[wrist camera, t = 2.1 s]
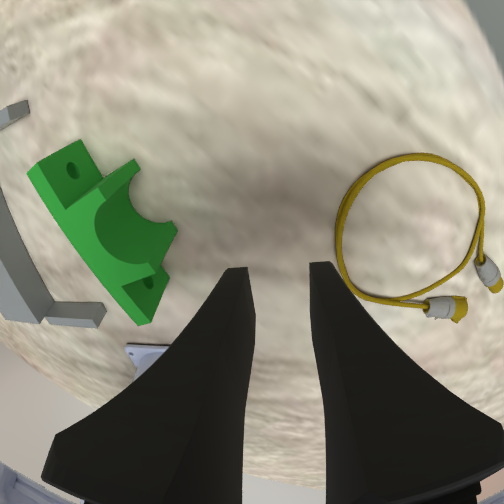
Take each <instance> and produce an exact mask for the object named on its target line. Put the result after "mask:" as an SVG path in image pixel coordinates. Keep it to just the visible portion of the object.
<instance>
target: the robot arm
mask: <svg viewBox="0 0 504 504" xmlns="http://www.w3.org/2000/svg"><path fill="white" fill-rule="evenodd" d="M309 270H310V319H311V331H312V341H313V347H314V352H315V358H316V363H317V369H318V375H319V380H320V386H321V392H322V398H323V406H324V416H325V438H326V504H504V489H503V490H501V491H500V492H498V493H496V494H494V495H492V496H490V497H488V498H486V499H484V500H482V501H480V502H478V503H477V498H476V495H479V494H480V493H481V486H480V481H482V480H483V479H485V478H487V477H489V476H490V475H492V474H494V473H496V472H497V471H499V470H501V469H502V468H504V430H503V427H502V425H501V423H499V422H497V421H496V420H494V419H492V418H491V417H489V416H487V415H485V414H484V413H482V412H480V411H479V410H477V409H475V408H474V407H472V406H470V405H469V404H467V403H466V402H465V401H463V400H462V399H460V398H459V397H457V396H456V395H455V394H453V393H452V392H450V391H449V390H448V389H447V388H445V387H444V386H443V385H442V384H440V383H439V382H438V381H437V380H435V379H434V378H433V377H432V376H431V375H429V374H428V373H427V372H426V371H424V370H423V369H422V368H421V367H420V366H419V365H417V364H416V363H415V362H414V361H413V360H412V359H411V358H410V357H409V356H408V355H407V354H406V353H405V352H404V351H403V350H402V349H401V348H400V347H398V346H397V345H396V344H395V343H394V341H393V340H392V339H391V338H390V337H389V336H388V335H387V334H386V333H385V332H384V331H383V330H382V329H381V327H380V326H379V325H378V324H377V323H376V322H375V321H374V319H373V318H372V317H371V316H370V315H369V313H368V312H367V311H366V310H365V309H364V307H363V306H362V305H361V303H360V302H359V301H358V300H357V298H356V297H355V296H354V294H353V293H352V292H351V290H350V289H349V288H348V286H347V285H346V283H345V282H344V281H343V279H342V278H341V276H340V275H339V273H338V272H337V270H336V269H335V267H334V265H333V264H332V263H331V262H330V261H326V262H312V263H309ZM255 322H256V314H255V308H254V302H253V297H252V291H251V285H250V279H249V273H248V267H240V268H228V269H227V270H226V271H225V272H224V274H223V275H222V277H221V278H220V280H219V281H218V283H217V284H216V286H215V287H214V289H213V290H212V292H211V293H210V295H209V296H208V298H207V299H206V301H205V302H204V303H203V305H202V306H201V308H200V309H199V310H198V312H197V313H196V314H195V316H194V317H193V318H192V320H191V321H190V322H189V323H188V325H187V326H186V327H185V328H184V330H183V331H182V332H181V333H180V335H179V336H178V337H177V338H176V339H175V341H174V342H173V343H172V344H171V345H170V346H148V345H130V344H127V345H126V346H125V348H124V349H125V351H126V352H127V354H128V356H129V357H130V359H131V360H132V362H133V363H134V365H135V366H136V368H137V370H136V373H135V376H134V379H133V382H132V383H131V384H130V385H129V386H128V387H127V388H126V389H124V390H123V391H122V392H121V393H119V394H118V395H117V396H115V397H114V398H113V399H111V400H110V401H109V402H107V403H106V404H105V405H103V406H102V407H100V408H99V409H97V410H96V411H95V412H93V413H92V414H90V415H88V416H87V417H86V418H84V419H82V420H80V421H79V422H77V423H75V424H73V425H72V426H70V427H69V428H67V429H65V430H63V431H61V432H59V433H58V434H56V435H55V437H54V440H53V442H52V445H51V448H50V451H49V454H48V457H47V460H46V463H45V465H44V469H43V471H42V475H41V478H42V480H43V481H44V482H46V483H48V484H50V485H52V486H54V487H56V488H58V489H60V490H62V491H64V492H66V493H68V494H70V495H73V496H75V497H77V498H80V499H81V502H80V504H242V470H243V440H244V418H245V407H246V400H247V393H248V387H249V380H250V374H251V367H252V360H253V353H254V346H255ZM0 504H76V503H73V502H71V501H69V500H67V499H65V498H63V497H60V496H59V495H57V494H54V493H53V492H50V491H49V490H47V489H45V487H44V486H42V485H40V484H38V483H36V482H35V481H33V480H31V479H29V478H28V477H26V476H24V475H22V474H21V473H19V472H17V471H15V470H13V469H11V468H10V467H8V466H6V465H5V464H4V463H2V462H0Z"/></svg>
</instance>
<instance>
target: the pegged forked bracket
mask: <svg viewBox="0 0 504 504" xmlns="http://www.w3.org/2000/svg"><path fill="white" fill-rule="evenodd" d="M29 113H30V112H29V108H28V103H27V100H25V101H22V102H18V103H15V104H12V105H9V106H7V107H5V108H4V109H2V110H1V111H0V130H2V129H3V128H5V127H7V126H8V125H10V124H12V123H13V122H15V121H17V120H18V119H20V118H22V117H24V116H25V115H27V114H29ZM0 312H1V314H2V315H3V317H4V318H5V320H10V321H18V322H25V323H33V324H40V323H41V321H42V320H43V318H44V317H45V318H46V319H47V321H48V322H49V324H51V325H61V326H73V327H85V328H98V327H99V325H100V323H101V321H102V319H103V317H104V316H105V314H106V312H107V311H106V309H105V307H104V306H103V304H102V303H81V302H54V300H53V298H52V297H51V295H50V293H49V292H48V290H47V288H46V286H45V285H44V283H43V281H42V279H41V277H40V275H39V274H38V272H37V270H36V268H35V266H34V264H33V262H32V260H31V258H30V256H29V254H28V252H27V250H26V248H25V246H24V244H23V242H22V240H21V237H20V235H19V233H18V231H17V228H16V226H15V224H14V222H13V219H12V217H11V214H10V212H9V209H8V207H7V204H6V202H5V199H4V196H3V194H2V191H1V188H0Z"/></svg>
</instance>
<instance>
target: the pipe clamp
mask: <svg viewBox="0 0 504 504" xmlns="http://www.w3.org/2000/svg"><path fill="white" fill-rule="evenodd" d="M139 170H140V168H139V166H138V164H137V163H136V161H135V159H133V160H131V161H130V162H128V163H127V164H125V165H123V166H122V167H120V168H119V169H117V170H115V171H114V172H112V173H111V174H109V175H108V176H106V177H105V178H103V177H102V175H101V173H100V172H99V170H98V168H97V167H96V165H95V163H94V161H93V160H92V158H91V156H90V155H89V153H88V151H87V149H86V148H85V146H84V144H83V142H82V141H81V139H80V140H78V141H76V142H74V143H72V144H70V145H68V146H66V147H64V148H62V149H60V150H59V151H57V152H55V153H53V154H51V155H49V156H48V157H46V158H44V159H42V160H41V161H39V162H37V163H36V164H35V165H34V166H33V167H32V168H31V169H30V170H29V171H28V172H27V175H28V177H29V179H30V180H31V182H32V184H33V186H34V187H35V189H36V191H37V192H38V194H39V195H40V197H41V199H42V200H43V202H44V204H45V205H46V207H47V208H48V210H49V211H50V213H51V214H52V216H53V217H54V219H55V221H56V222H57V224H58V225H59V226H60V228H61V229H62V231H63V232H64V234H65V235H66V237H67V238H68V239H69V241H70V242H71V244H72V245H73V246H74V248H75V249H76V251H77V252H78V253H79V255H80V256H81V257H82V259H83V260H84V261H85V263H86V264H87V265H88V267H89V268H90V269H91V271H92V272H93V273H94V274H95V276H96V277H97V278H98V279H99V281H100V282H101V283H102V284H103V286H104V287H105V288H106V289H107V291H108V292H109V293H110V294H111V295H112V297H113V298H114V299H115V300H116V301H117V303H118V304H119V305H120V306H121V307H122V308H123V310H124V311H125V312H126V313H127V314H128V315H129V317H130V318H131V319H132V320H133V321H134V322H135V323H136V324H137V325H138V326H140V325H144V324H148V323H151V322H152V319H153V317H154V314H155V312H156V309H157V307H158V305H159V302H160V300H161V297H162V295H163V292H164V290H165V288H166V285H167V283H168V280H169V278H170V277H169V276H168V274H167V273H166V272H165V270H164V269H163V267H162V266H161V265H160V264H161V262H162V260H163V258H164V256H165V254H166V252H167V250H168V248H169V246H170V244H171V242H172V241H173V239H174V237H175V235H176V233H177V231H178V230H177V228H176V227H175V225H174V224H173V222H172V221H170V222H166V223H155V222H151V221H149V220H146V219H145V218H143V217H142V216H140V215H139V214H138V213H137V212H136V211H135V209H134V208H133V206H132V204H131V202H130V199H129V195H128V188H129V183H130V180H131V178H132V177H133V175H135V174H136V173H137V172H138V171H139Z"/></svg>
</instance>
